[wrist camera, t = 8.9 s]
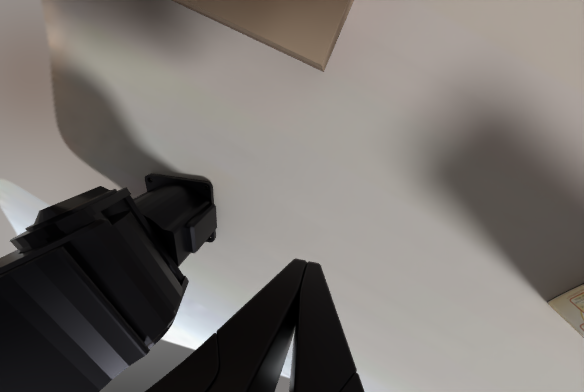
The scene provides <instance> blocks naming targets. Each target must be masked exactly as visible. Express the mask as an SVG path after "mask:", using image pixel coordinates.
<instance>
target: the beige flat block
mask: <svg viewBox="0 0 584 392" xmlns="http://www.w3.org/2000/svg"><path fill="white" fill-rule="evenodd" d="M172 1H175V2H177V3H179V4H181V5H183V6H185V7H187V8H189V9H192V10H194V11H196V12H198V13H200V14H202V15H204V16H206V17H208V18H211V19H213V20H215V21H217V22H219V23H221V24H223V25H225V26H228V27H230V28H232V29H234V30H236V31H238V32H240V33H242V34H245V35H247V36H249V37H251V38H253V39H255V40H257V41H259V42H261V43H264V44H266V45H268V46H270V47H272V48H274V49H276V50H278V51H281V52H283V53H285V54H287V55H289V56H291V57H293V58H295V59H298V60H300V61H302V62H304V63H306V64H308V65H310V66H312V67H314V68H317V69H319V70H321V71H323V72H324V70H325V67H326V65H327V62H328V60H329V58H330V55H331V53H332V51H333V48H334V46H335V44H336V41H337V39H338V36H339V34H340V32H341V29H342V27H343V25H344V22H345V20H346V18H347V15H348V13H349V10H350V8H351V6H352V3H353V1H354V0H172Z"/></svg>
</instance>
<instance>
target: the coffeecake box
mask: <svg viewBox="0 0 584 392" xmlns="http://www.w3.org/2000/svg"><path fill="white" fill-rule="evenodd" d="M548 304H549V305H550V306H551V307H552V308H553V309H554V310H555V311H556V312H557V313H558V314H559V315H560V316H561V317H562V318H564V319H565V320H566V321H567V322H568V323H569V324H570V325H571V326H572V327H573V328H574V329H575V330H576V331H577V332H578V333H579V334H580V335H581V336H582V337H583V338H584V284H583V285H581V286H579V287H576V288H574V289H572V290H570V291H568V292H566V293H564V294H562V295H560V296H558V297H556V298H554V299H552V300H550V301H549V302H548Z"/></svg>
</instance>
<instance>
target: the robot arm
mask: <svg viewBox="0 0 584 392" xmlns="http://www.w3.org/2000/svg"><path fill="white" fill-rule="evenodd" d="M150 178H151V179H152V180H151V179H150ZM145 182H146V188H147V192H146V193H144V194H142V195H140V196H138V197H137V198H135V199H132V198H131V196H130V194H131V193H130V192H129V190H128V189H127V187H126V188H123V189H121V190H119V191H117V190H116V189H114V190H108V189H106V188H104V187H102V186H99V187H97V188H95V189H92V190H90V191H87V192H85V193H82V194H80V195H77V196H75V197H72V198H70V199H67V200H65V201H62V202H60V203H57V204H55V205H52V206H50V207H47V208H45V209H43V210H40V211H39V213H38V216H37V218H36V220H35V223H34V224H33V225H31V226H29V227H27V228H26V230H27V231H26V232H24V233H22V234H20V235H18V236H17V237H15V238H13V239H11V240H10V241H11V242H12V243H13V245H14V246H15V247H16V248H17V249H18V250H16V251H14V252H12V253H10V254H8V255H6V256H4V257H1V258H0V392H99V391H100V390H101V389H103V387H105V386H106V385H107V384H108V383H109V382H110V381H111V380H112V379H113V378H115V377H116V376H117V375H118V374H120V373H121V372H122V371H123V370H125V369H126V368H127V367H128V366H130V365H131V364H133V363H134V362H136V361H137V360H139V359H141V358H142V357H144V356H145V355H147V353H148V352H149V351H150V349H149V348H151V347H152V346H153V345H154V344H156V343H157V342H158V341H159V340H160V339H161V338H162V337H163V336H164V335H165V333H166V332H167V331H168V330H169V328H170V327H171V325H172V323H173V321H174V319H175V317H176V314H177V311H178V309H179V306H180V303H181V301H182V298H183V295H184V293H185V290H186V287H187V285H188V282H189V281H188V279H187V278H186V276H183V274H182V273H181V271H180V270H179V268H178V267H179V266H180V264H181V263H182V262H183V261H184V260H185V259H186V258H187V256H188V255H189V254H190V253H195V252H197V251H198V249H199V248H200V247H201V246H202V245H203V244H204V242H213V241H214V240H215V238H216V231H215V229H216V228H217V220H216V206H215V204H214V198H213V186H212V184H211V183H210V182H208V181H201V180H194V179H187V178H179V177H172V176H165V175H158V174H149V175H147V176H146V177H145ZM205 185H206V186H207V187H208V189H207V188H206V187H205ZM209 236H210V237H211V238H210V237H209ZM294 330H295V333H294ZM293 334H294V341H293V353H292V364H291V376H290V387H289V392H364V389H363V386H362V383H361V380H360V378H359V375H358V373H356V371H357V369H356V366H355V363H354V361H353V358H352V355H351V352H350V349H349V346H348V343H347V340H346V337H345V334H344V332H343V329H342V326H341V323H340V320H339V317H338V314H337V311H336V308H335V305H334V303H333V300H332V297H331V294H330V291H329V288H328V285H327V282H326V279H325V276H324V274H323V271H322V268H321V265H320V264H319V263H315V262H310V261H309V262H306V261H305V260H300V259H294V260H293V261H291V262H290V263H289V264H288V265H287V266H286V267H285V268H284V269H283V270H282V271H281V272H280V273H279V274H277V275H276V276H275V277H274V278H273V279H272V280H271V281H270V282H269V283H268V284H267V285H266V286H265V287H264V288H262V289H261V290H260V291H259V292H258V293H257V294H256V295H255V296H254V297H253V298H252V299H251V300H250V301H248V302H247V303H246V304H245V305H244V306H243V307H242V308H241V309H240V310H239V311H238V312H237V313H236V314H235V315H233V316H232V317H231V318H230V319H229V320H228V321H227V322H226V323H225V324H224V325H223V326H222V327H221V328H219V329H218V330H217V334H216V333H214V334H213V335H212V336H211V337H210V338H209V339H207V340H206V341H205V342H204V343H203V344H202V345H201V346H200V347H199V348H198V349H196V350H195V351H194V352H193V353H192V354H191V355H190V356H189V357H187V358H186V359H185V360H184V361H183V362H182V363H181V364H179V365H178V366H177V367H175V368H174V369H173V370H172V371H170V372H169V373H168V374H167V375H166V376H164V377H163V378H162V379H161V380H159V381H158V382H157V383H155V384H154V385H153V386H152V387H150V388H149V389H148V390H146V391H145V392H275V389H276V386H277V383H278V380H279V377H280V374H281V371H282V368H283V365H284V362H285V359H286V356H287V353H288V350H289V347H290V344H291V341H292V337H293Z"/></svg>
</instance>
